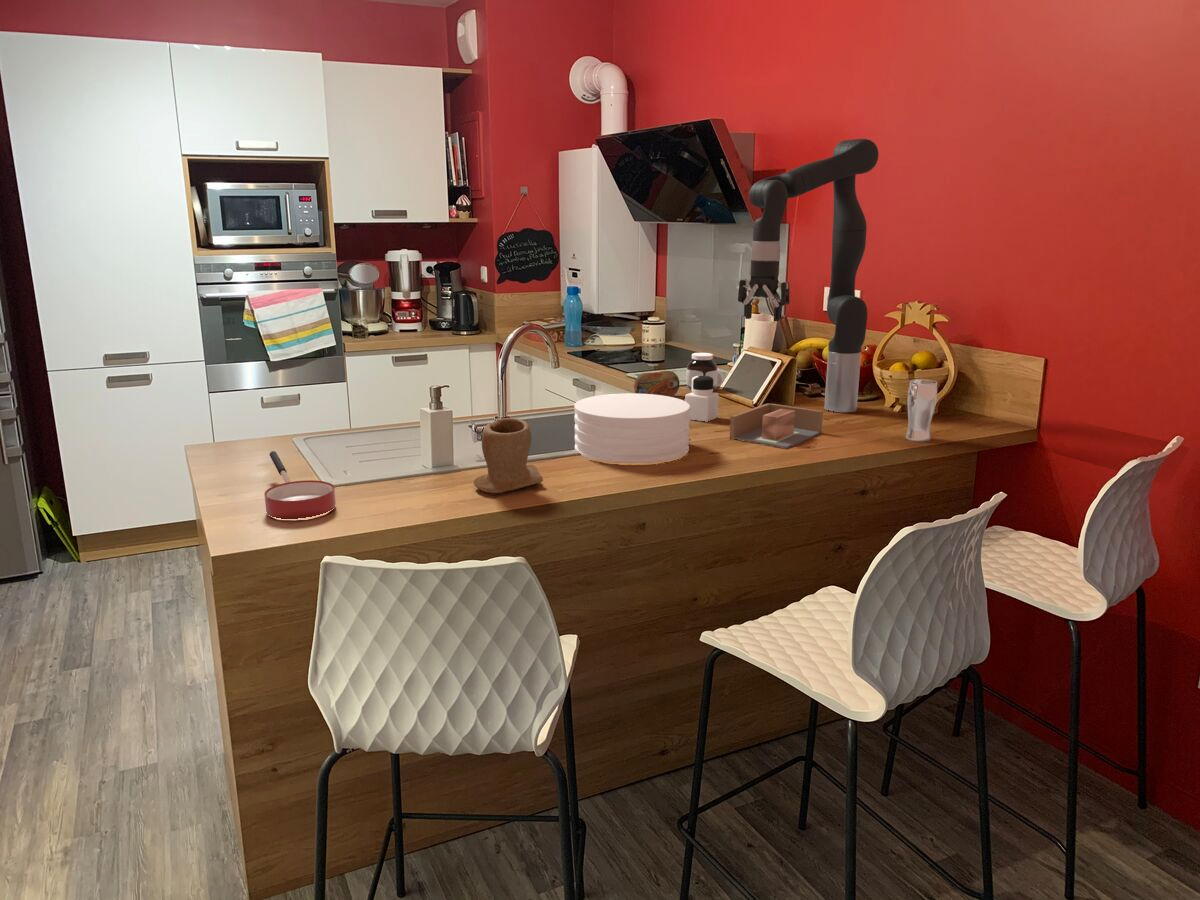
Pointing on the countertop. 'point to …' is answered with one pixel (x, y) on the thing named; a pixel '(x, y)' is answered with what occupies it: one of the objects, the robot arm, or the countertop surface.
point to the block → (778, 424)
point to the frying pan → (298, 496)
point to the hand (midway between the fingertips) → (762, 319)
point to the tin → (657, 383)
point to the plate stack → (632, 428)
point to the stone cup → (507, 457)
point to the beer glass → (920, 408)
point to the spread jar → (703, 369)
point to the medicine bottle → (702, 399)
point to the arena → (751, 420)
